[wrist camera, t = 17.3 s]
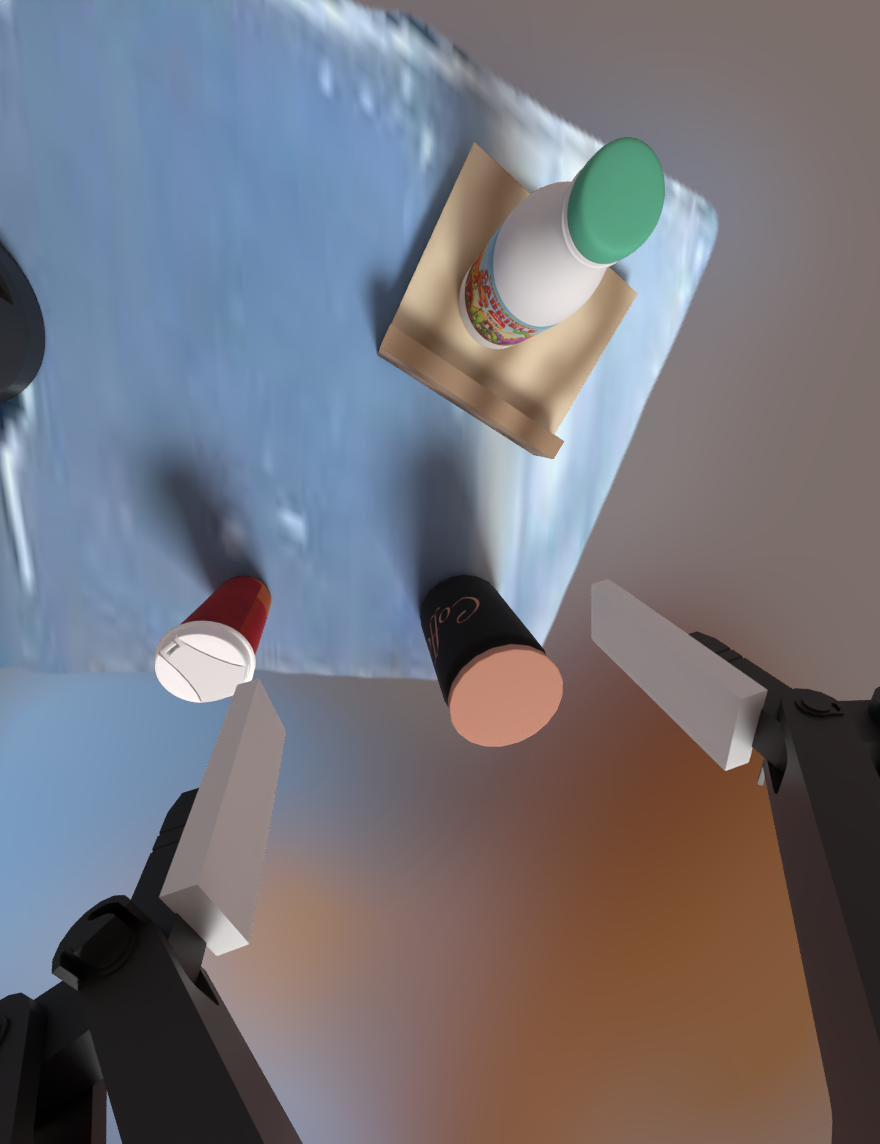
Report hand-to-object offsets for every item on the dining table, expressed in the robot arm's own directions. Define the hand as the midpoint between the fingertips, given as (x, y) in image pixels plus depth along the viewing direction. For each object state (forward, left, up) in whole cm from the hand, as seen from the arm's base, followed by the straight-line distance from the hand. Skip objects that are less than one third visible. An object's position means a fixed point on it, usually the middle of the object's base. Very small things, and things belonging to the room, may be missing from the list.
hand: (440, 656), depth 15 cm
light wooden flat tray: (+3, +21, -32) cm, 38 cm away
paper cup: (-9, -18, -32) cm, 37 cm away
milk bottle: (+1, +22, -30) cm, 37 cm away
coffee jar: (+15, -8, -32) cm, 36 cm away
